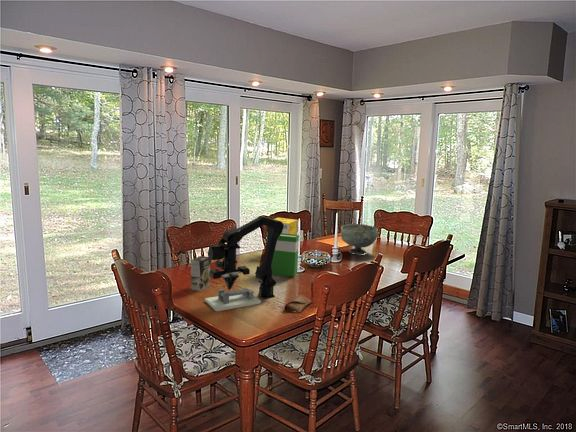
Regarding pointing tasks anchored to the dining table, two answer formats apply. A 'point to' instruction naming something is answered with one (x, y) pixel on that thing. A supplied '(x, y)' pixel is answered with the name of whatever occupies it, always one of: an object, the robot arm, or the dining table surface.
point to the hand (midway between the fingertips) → (229, 289)
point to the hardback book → (285, 255)
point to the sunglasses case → (297, 303)
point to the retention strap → (236, 292)
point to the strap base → (232, 301)
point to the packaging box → (289, 225)
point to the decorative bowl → (358, 236)
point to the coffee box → (200, 273)
